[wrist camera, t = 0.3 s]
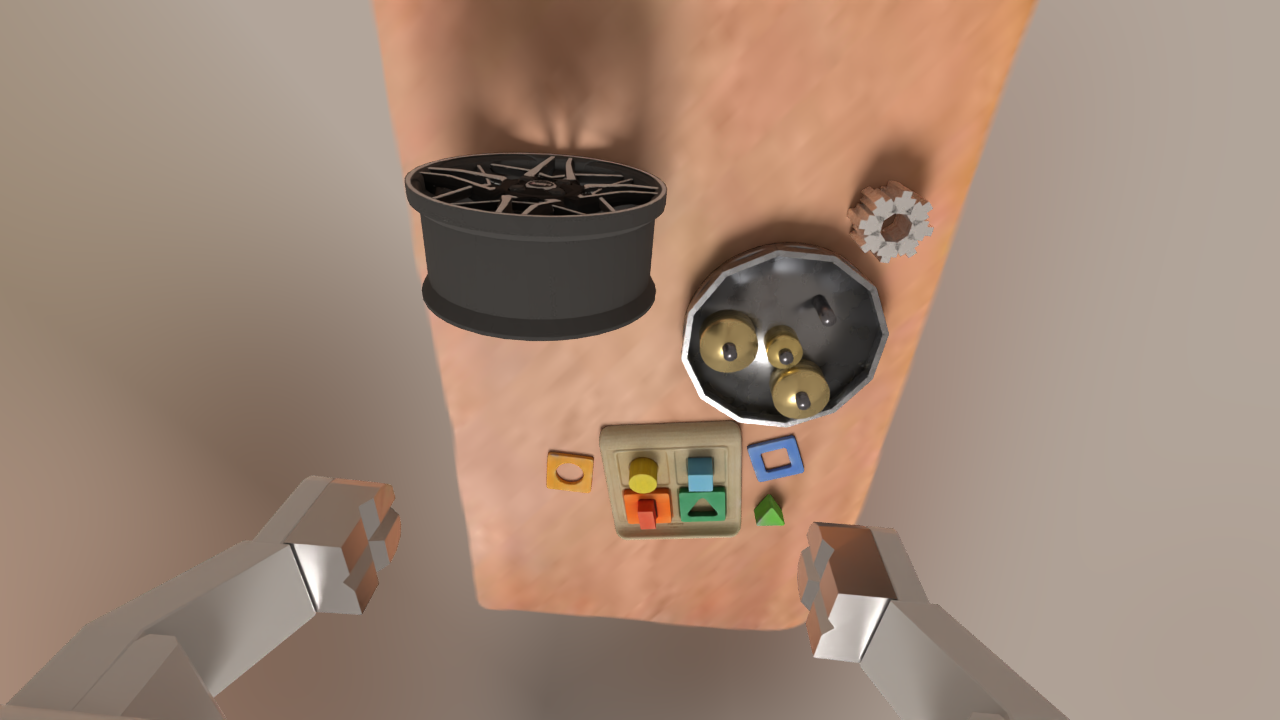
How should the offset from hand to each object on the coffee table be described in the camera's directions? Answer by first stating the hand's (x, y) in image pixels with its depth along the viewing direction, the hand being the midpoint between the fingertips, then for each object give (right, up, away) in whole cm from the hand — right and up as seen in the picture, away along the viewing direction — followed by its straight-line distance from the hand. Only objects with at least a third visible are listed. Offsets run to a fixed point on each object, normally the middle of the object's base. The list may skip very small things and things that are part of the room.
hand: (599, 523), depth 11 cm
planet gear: (+24, +17, +42) cm, 52 cm away
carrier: (+16, +6, +50) cm, 53 cm away
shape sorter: (+5, -12, +62) cm, 64 cm away
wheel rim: (-7, +19, +44) cm, 48 cm away
